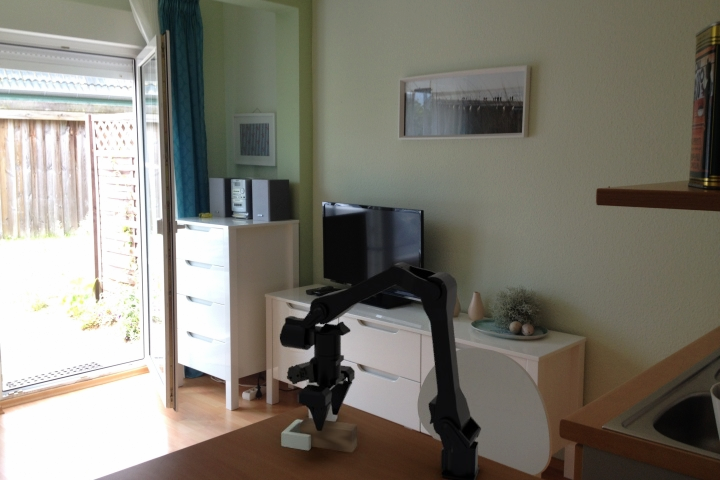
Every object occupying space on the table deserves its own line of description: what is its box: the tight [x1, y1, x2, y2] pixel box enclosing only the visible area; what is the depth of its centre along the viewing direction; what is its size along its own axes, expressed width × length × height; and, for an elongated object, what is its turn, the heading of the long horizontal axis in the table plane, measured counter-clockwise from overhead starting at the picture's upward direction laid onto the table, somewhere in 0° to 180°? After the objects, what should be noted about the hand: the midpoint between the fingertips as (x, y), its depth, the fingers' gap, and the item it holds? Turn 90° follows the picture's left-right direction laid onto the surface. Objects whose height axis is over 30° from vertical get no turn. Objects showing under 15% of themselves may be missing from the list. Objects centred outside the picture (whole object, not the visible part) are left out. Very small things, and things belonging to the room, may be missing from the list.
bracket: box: [280, 419, 312, 451], centre depth 143 cm, size 6×8×3 cm
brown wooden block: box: [300, 417, 358, 453], centre depth 141 cm, size 12×4×5 cm, turn 71°
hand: (327, 422), depth 140 cm, fingers open, 9 cm apart
